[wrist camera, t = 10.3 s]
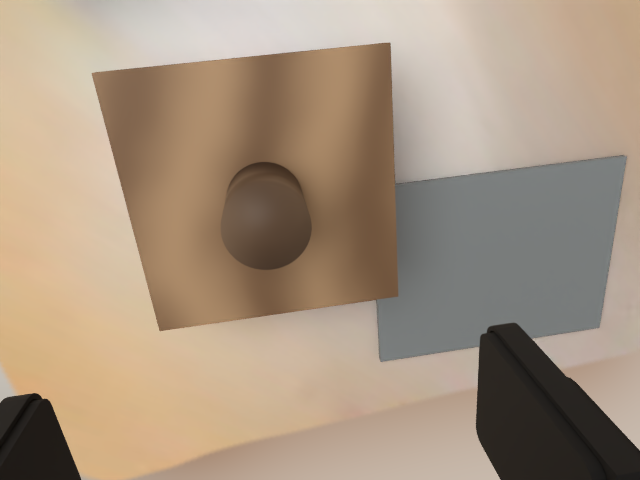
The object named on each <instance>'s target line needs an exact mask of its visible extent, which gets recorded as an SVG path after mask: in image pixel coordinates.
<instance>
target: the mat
mask: <svg viewBox="0 0 640 480" xmlns="http://www.w3.org/2000/svg"><path fill="white" fill-rule="evenodd" d="M626 158H627V156H624V155H621V156H613V157H605V158H597V159H589V160H581V161H573V162H566V163H558V164H550V165H542V166H534V167H526V168H518V169H510V170H502V171H494V172H487V173H479V174H471V175H463V176H455V177H447V178H439V179H431V180H423V181H416V182H408V183H400V184H395V204H396V235H397V267H398V297H392V298H385V299H378V300H376V301H377V319H378V338H379V357H380V361H381V362H383V361H389V360H396V359H402V358H409V357H415V356H421V355H428V354H434V353H441V352H447V351H453V350H460V349H466V348H473V347H479V346H480V336H481V335H482V334H484V333H487V329H488V327H490V326H493V325H500V324H507V323H517V324H518V325H519V326H520V327H521V328H522V329H523V330H524V331H525V332H526V333H527V335H528V336H529V337H530V338H537V337H543V336H549V335H556V334H562V333H569V332H575V331H581V330H588V329H594V328H599V327H600V321H601V314H602V308H603V302H604V296H605V289H606V283H607V277H608V271H609V264H610V258H611V252H612V246H613V239H614V233H615V227H616V221H617V214H618V208H619V202H620V196H621V190H622V183H623V177H624V171H625V165H626Z"/></svg>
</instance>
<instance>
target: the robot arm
mask: <svg viewBox="0 0 640 480" xmlns="http://www.w3.org/2000/svg"><path fill="white" fill-rule="evenodd" d="M476 430H477V435H478V438H479V441H480V443H481V445H482V447H483V448H484V450H485V452H486V454H487V456H488V457H489V459H490V461H491V463H492V465H493V467H494V468H495V470H496V472H497V474H498V476H499V477H500V479H501V480H640V451H639V449H638V448H637V447H636V446H635V445H634V444H633V443H632V442H631V441H630V440H629V439H628V438H627V437H626V436H625V434H624V433H622V431H621V430H620V429H619V428H618V427H617V426H616V425H615V424H614V423H613V422H612V421H611V420H610V418H609V417H608V416H607V415H606V414H605V413H604V412H603V411H602V410H601V409H600V408H599V407H598V406H597V404H596V403H595V402H594V401H593V400H592V399H591V398H590V397H589V396H588V395H587V394H586V393H585V392H584V391H583V390H582V388H581V387H580V386H579V385H578V384H577V383H576V382H575V381H573V380H572V379H571V378H568V377H566V376H565V375H564V374H563V372H562V371H561V370H560V369H559V368H558V367H557V366H556V365H555V364H554V363H553V362H552V361H551V359H550V358H549V357H548V356H547V355H546V354H545V353H544V352H543V351H542V350H541V349H540V348H539V346H538V345H537V344H536V343H535V342H534V341H533V340H532V339H531V338H530V337H529V336H528V335H527V333H526V332H525V331H524V330H523V329H522V328H521V327H520V326H519V325H518V324H517V323H507V324H500V325H493V326H490V327H488V329H487V333H484V334H482V335H481V336H480V348H479V370H478V392H477V414H476ZM0 480H81V477H80V475H79V472H78V470H77V467H76V465H75V462H74V460H73V457H72V455H71V452H70V450H69V447H68V445H67V442H66V440H65V437H64V435H63V432H62V430H61V427H60V425H59V422H58V420H57V417H56V415H55V412H54V410H53V407H52V405H51V403H50V401H49V400H48V399H42V397H41V396H40V395H39V394H36V393H33V394H26V395H19V396H12V397H7V398H5V399H3V400H2V401H1V403H0Z"/></svg>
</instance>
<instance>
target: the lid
mask: <svg viewBox="0 0 640 480" xmlns="http://www.w3.org/2000/svg"><path fill="white" fill-rule="evenodd" d="M92 76H93V80H94V84H95V88H96V92H97V95H98V99H99V103H100V107H101V111H102V114H103V118H104V122H105V126H106V129H107V133H108V137H109V141H110V145H111V148H112V152H113V156H114V160H115V164H116V167H117V171H118V175H119V179H120V182H121V186H122V190H123V194H124V198H125V201H126V205H127V209H128V213H129V217H130V220H131V224H132V228H133V232H134V235H135V239H136V243H137V247H138V251H139V254H140V258H141V262H142V266H143V270H144V273H145V277H146V281H147V285H148V289H149V292H150V296H151V300H152V304H153V307H154V311H155V315H156V319H157V323H158V326H159V330H160V331H164V330H170V329H177V328H184V327H191V326H198V325H205V324H212V323H219V322H226V321H233V320H240V319H246V318H253V317H260V316H267V315H274V314H281V313H288V312H295V311H302V310H309V309H316V308H322V307H329V306H336V305H343V304H350V303H357V302H364V301H371V300H378V299H385V298H392V297H398V267H397V235H396V204H395V172H394V141H393V109H392V78H391V46H390V43H379V44H370V45H360V46H350V47H340V48H330V49H320V50H311V51H301V52H291V53H281V54H271V55H261V56H252V57H242V58H232V59H222V60H212V61H202V62H193V63H183V64H173V65H163V66H153V67H143V68H134V69H124V70H114V71H104V72H96V73H92Z"/></svg>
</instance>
